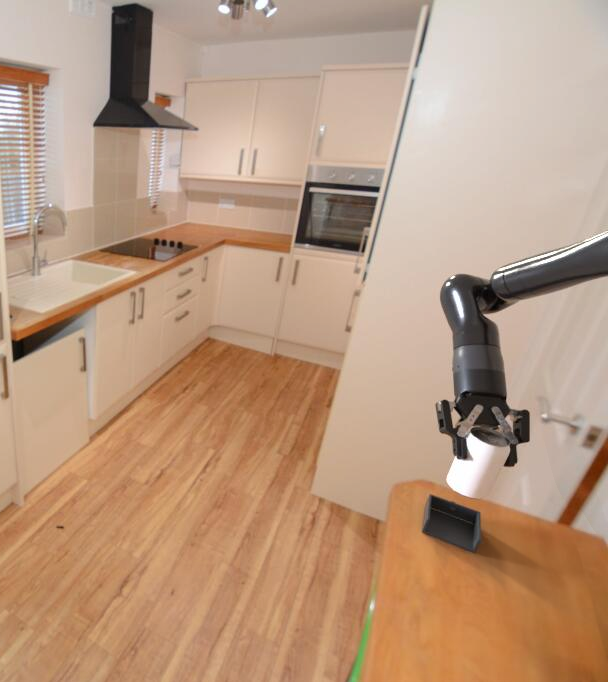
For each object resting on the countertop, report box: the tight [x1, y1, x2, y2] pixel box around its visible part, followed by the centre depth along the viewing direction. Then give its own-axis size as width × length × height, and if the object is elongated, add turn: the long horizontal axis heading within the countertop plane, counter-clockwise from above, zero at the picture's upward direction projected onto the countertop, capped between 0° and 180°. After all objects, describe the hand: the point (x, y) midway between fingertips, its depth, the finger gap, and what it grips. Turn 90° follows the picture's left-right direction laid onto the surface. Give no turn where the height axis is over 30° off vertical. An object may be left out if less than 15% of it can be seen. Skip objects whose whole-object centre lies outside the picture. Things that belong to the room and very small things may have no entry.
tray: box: [421, 493, 482, 554], centre depth 91 cm, size 10×8×4 cm
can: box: [446, 426, 511, 500], centre depth 83 cm, size 6×6×12 cm
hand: (485, 462), depth 81 cm, fingers closed on can, 6 cm apart
